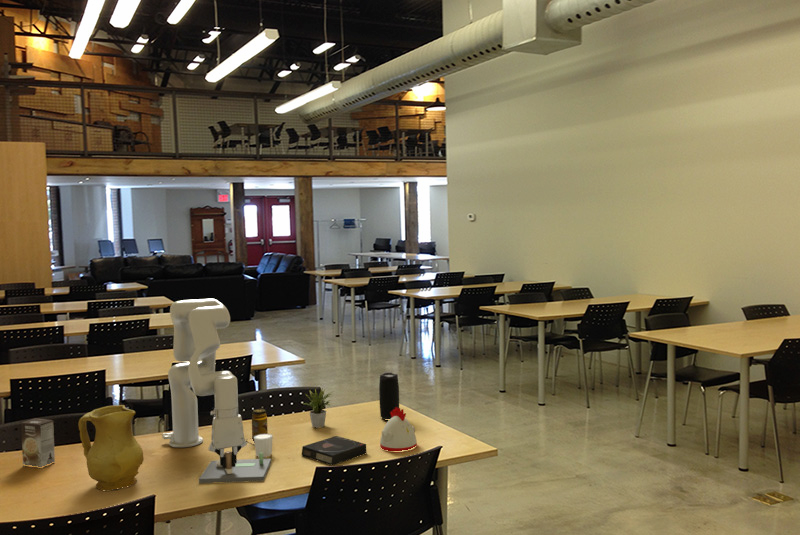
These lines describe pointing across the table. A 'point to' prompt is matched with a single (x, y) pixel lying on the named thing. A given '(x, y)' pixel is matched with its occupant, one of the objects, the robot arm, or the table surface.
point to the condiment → (259, 422)
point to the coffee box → (38, 442)
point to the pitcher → (111, 447)
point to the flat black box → (334, 450)
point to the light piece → (227, 462)
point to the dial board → (237, 471)
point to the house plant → (318, 408)
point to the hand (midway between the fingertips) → (228, 466)
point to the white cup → (263, 444)
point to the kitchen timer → (398, 433)
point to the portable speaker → (388, 394)
